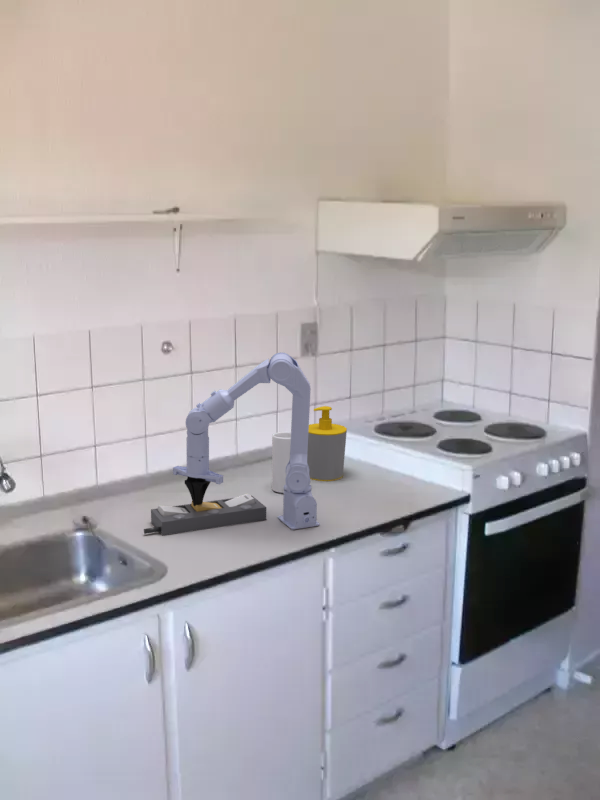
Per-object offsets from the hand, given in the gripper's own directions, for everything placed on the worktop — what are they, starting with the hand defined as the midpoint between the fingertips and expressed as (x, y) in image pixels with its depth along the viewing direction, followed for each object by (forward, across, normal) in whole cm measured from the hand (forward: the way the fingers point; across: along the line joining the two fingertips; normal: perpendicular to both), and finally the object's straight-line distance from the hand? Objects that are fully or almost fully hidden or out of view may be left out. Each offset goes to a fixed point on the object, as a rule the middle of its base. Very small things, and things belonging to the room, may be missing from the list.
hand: (197, 505), depth 232 cm
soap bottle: (+4, -10, -51) cm, 52 cm away
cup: (+4, -7, -33) cm, 34 cm away
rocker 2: (+1, -7, -9) cm, 11 cm away
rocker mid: (+1, -2, -2) cm, 3 cm away
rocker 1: (+1, +4, +5) cm, 7 cm away
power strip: (+4, -2, +1) cm, 4 cm away
